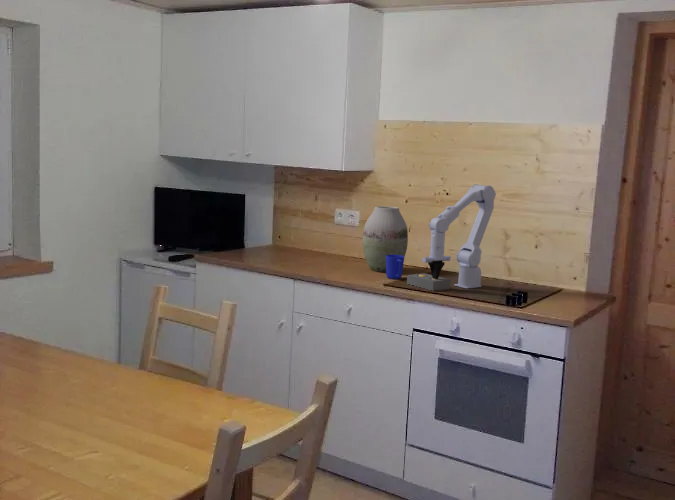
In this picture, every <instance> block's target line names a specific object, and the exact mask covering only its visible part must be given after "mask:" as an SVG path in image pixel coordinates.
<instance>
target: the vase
mask: <svg viewBox="0 0 675 500" xmlns="http://www.w3.org/2000/svg"><path fill="white" fill-rule="evenodd" d="M408 232H409V231H408V225H407V223H406V221H405V219H404V217H403V216H402V214H401V211H400V208H399V207H396V206H386V205H385V206H384V205H381V206H380V205H379V206H375V207H374V209H373V211H372V212H371V213H370V215H369V216H368V218H367V220H366V221H365V224H364V227H363V234H362V249H363V255H364V258H365V261H366V263H367V264H368V267H369V268H370V270H371V271H373V272H378V273H386V255H401V256H404V258H406V257H405V256H406V253H407V249H408V243H409V237H408Z"/></svg>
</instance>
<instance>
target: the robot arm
mask: <svg viewBox="0 0 675 500" xmlns="http://www.w3.org/2000/svg"><path fill="white" fill-rule="evenodd" d="M496 195H497V193H496V191H495V189H494V187H493V186H491V185H485V184H484V185H483V184H478V183H477V184H473V185H472V186H471V187H470V188H469V189H468V190H467V192H466V193H465V194H464V195H463V196H462V197H461V198H460V199H459V200H458V201H457V202H456V203H455V204H454V205H449V206H448V205H447V206H446V207H445V209H444V211H443V212H441V213H440V214H439V213H438V216H437V217H434V218H432V219H431V220H430V222H429V223H428V228H429V229H430V248H429V249H430V250H429V255H428V256H426V257H422V259H421V261H422V263H423V264H428V266H429V268H430V272H431V275H432V278H433V279H438V278H439V277H440V275H441V274H440V273H441V271H442V270H443V269H444V266H445V264H446V263H445V262H451V258H452V257H451V255H445V243H446V242H445V240H446V232H447V231H449V227H450V225H451V224H452V223H453V222H454V221H455V220H456V219H457V218H458V217H460V212H462V211H463V210H464V209H465V208H466V207H467V206H469V205H471V203H473V202H474V203H476V204H477V206H478V207H479V209H478V212H477V215H476V217H475V221H474V222H473V225H472V228H471V230H470V233H469V236H468V239H467V241H466V242H465V243H464V244H463V245H461V247H460V249H459V250H458V252H457V253H456V261H457V262H458V265H459V266H458V267H459V268H458V281H457V283H454V284H453V286H454V287H455V286H456V287H459V288H464V289H474V288H482V287H483V286H482V285H481V282H482V280H481V279H482V270H481V267H479V266H478V265H479V264H480V263H481V257H482V256H481V255H482V254H483V253H482V249H481V247H480V245H481V243H482V240H483V238H484V234H485V232H486V229H487V227H488V225H489V221H490V219H491V216H492V214H493V211H494V206H495V199H496Z"/></svg>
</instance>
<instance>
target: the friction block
mask: <svg viewBox="0 0 675 500" xmlns="http://www.w3.org/2000/svg"><path fill="white" fill-rule="evenodd" d="M419 275H426V277H420V276H419ZM451 281H452V280H451V279H450V278H449V279H448V278H444V277H441V276H439V280H433V279H432V274H428V273H425V272H424V273H415V274H407V277H406V285H408V284H410V285H409V286H412V285H414V286H413V287H416V286H417V287H416V288H419V287H421V288H420V289H423V288H425V289H424V290H427V289H428V290H427V291H431V290H432V292H435V291H434V290H438V291H444V290H450V289H451V283H452V282H451Z"/></svg>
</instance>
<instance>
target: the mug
mask: <svg viewBox="0 0 675 500" xmlns="http://www.w3.org/2000/svg"><path fill="white" fill-rule="evenodd" d="M404 262H405V257H404V256H401V255H386V272H385V274H386V278H388V279H390V280H391V279H392V280H398V279H399V280H400V279H401V278H402V276H403V270H404Z"/></svg>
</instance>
